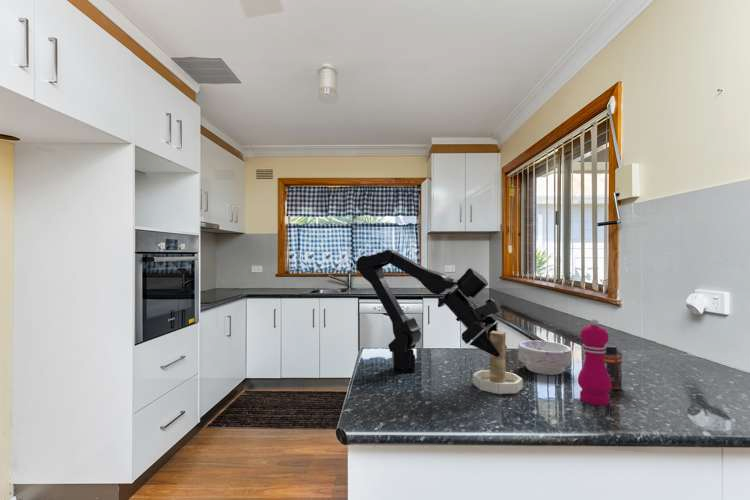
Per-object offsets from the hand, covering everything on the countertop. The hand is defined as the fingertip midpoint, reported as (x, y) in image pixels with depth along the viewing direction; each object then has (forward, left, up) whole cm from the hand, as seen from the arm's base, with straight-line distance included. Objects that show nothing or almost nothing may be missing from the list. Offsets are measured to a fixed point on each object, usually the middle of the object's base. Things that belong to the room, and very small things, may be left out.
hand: (502, 352), depth 103 cm
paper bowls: (+20, +13, -10) cm, 26 cm away
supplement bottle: (+29, -3, -9) cm, 31 cm away
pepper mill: (+18, -12, -9) cm, 24 cm away
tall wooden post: (-1, +1, -9) cm, 9 cm away
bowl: (-1, +1, -9) cm, 9 cm away
